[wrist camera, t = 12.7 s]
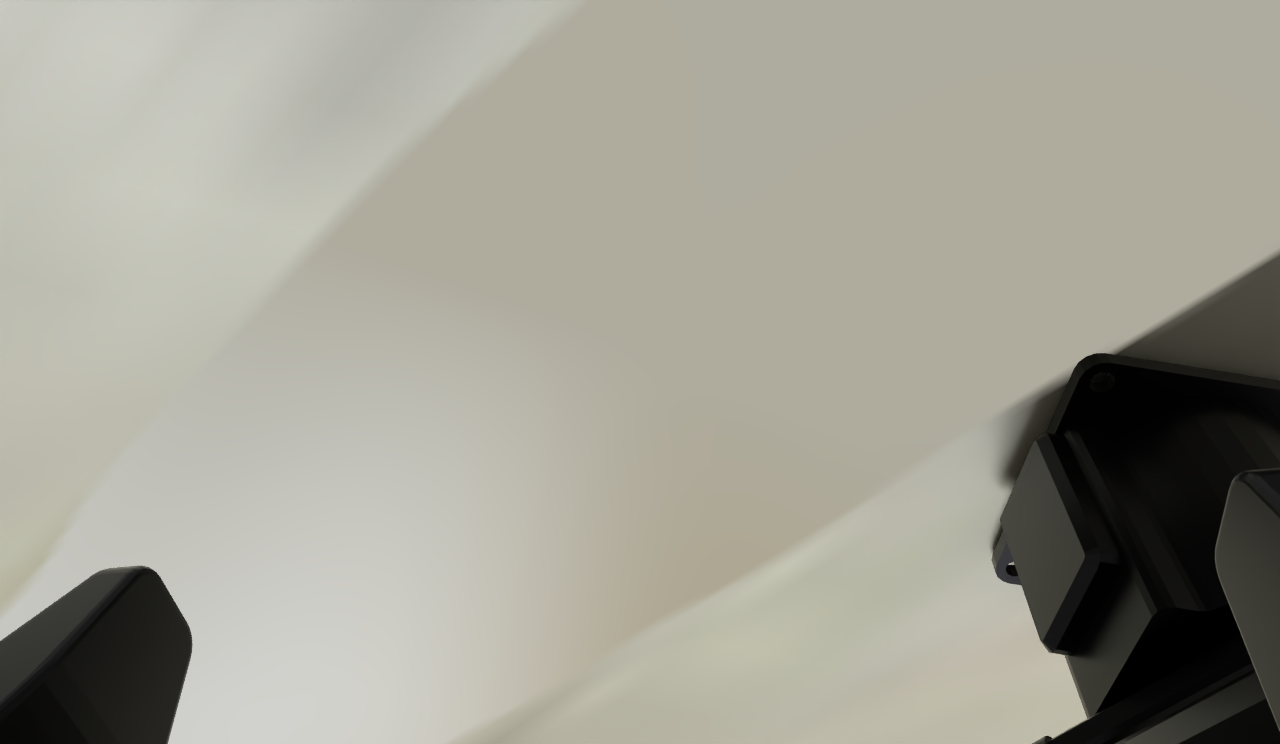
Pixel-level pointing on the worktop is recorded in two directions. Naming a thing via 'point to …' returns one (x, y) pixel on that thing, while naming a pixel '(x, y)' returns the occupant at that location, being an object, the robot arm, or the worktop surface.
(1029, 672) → the worktop surface
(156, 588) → the robot arm
